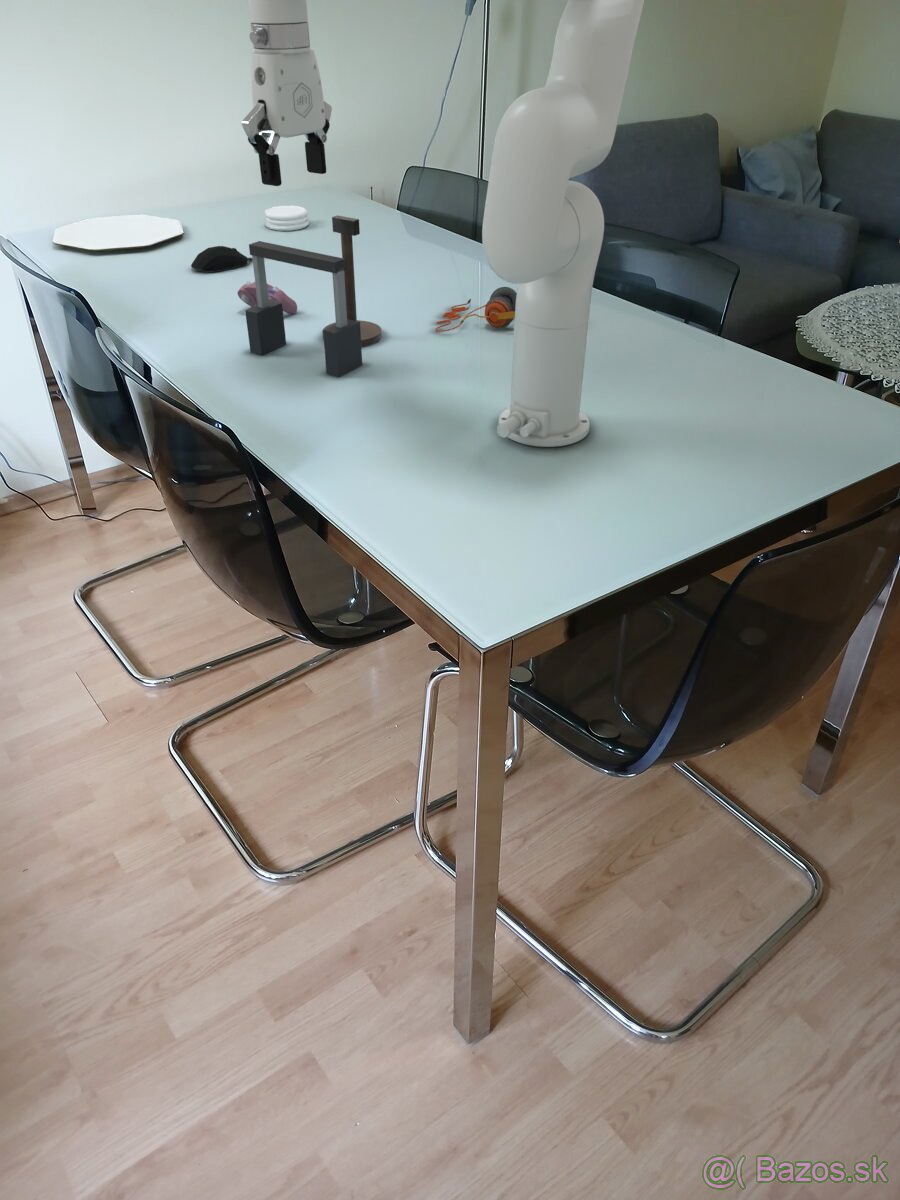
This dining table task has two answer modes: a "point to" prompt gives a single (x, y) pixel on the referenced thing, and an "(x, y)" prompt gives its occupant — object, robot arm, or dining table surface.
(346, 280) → the headphone stand
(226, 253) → the gaming mouse
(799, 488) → the dining table surface
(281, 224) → the stack of white coasters
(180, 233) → the plate
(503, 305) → the headphones
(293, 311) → the video game controller
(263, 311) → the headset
